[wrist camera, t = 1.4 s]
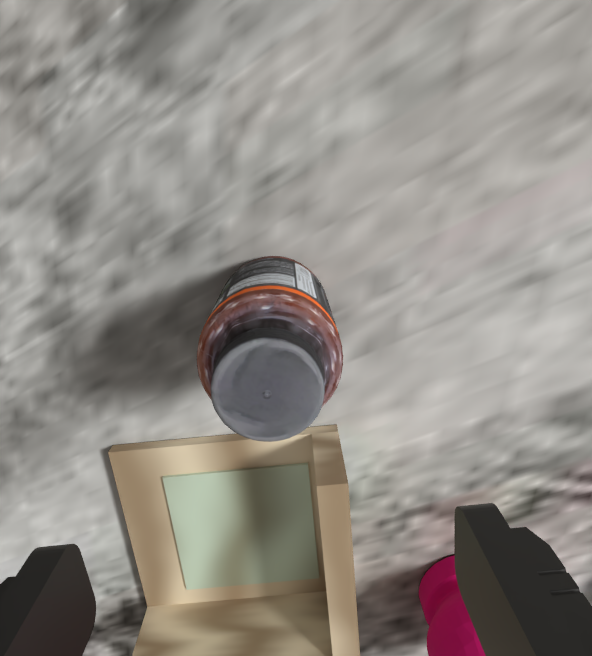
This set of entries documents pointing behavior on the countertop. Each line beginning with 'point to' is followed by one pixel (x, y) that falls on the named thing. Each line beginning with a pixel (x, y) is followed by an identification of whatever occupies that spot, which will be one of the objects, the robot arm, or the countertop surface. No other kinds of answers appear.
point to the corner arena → (241, 544)
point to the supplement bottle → (270, 350)
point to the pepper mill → (447, 613)
